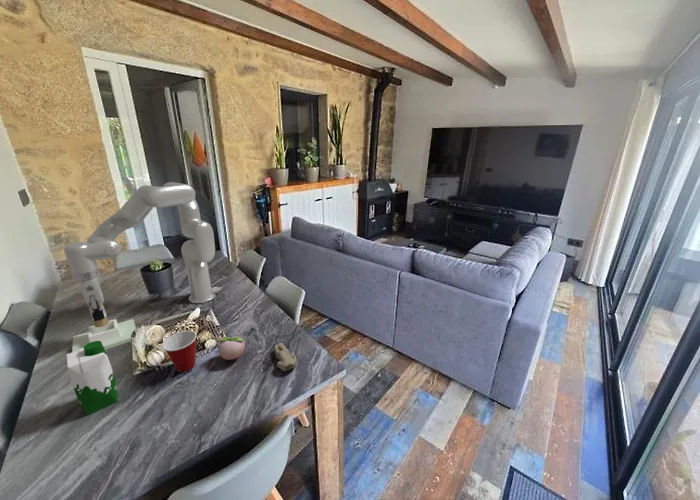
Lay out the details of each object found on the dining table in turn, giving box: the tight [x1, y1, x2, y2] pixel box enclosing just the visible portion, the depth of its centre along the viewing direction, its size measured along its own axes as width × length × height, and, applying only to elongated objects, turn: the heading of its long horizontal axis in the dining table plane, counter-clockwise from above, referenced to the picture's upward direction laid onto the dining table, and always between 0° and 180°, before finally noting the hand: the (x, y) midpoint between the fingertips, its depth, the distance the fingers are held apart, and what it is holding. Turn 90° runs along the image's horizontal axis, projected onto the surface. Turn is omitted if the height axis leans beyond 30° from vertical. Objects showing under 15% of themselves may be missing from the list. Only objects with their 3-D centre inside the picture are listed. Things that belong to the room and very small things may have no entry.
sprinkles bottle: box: [87, 296, 110, 327], centre depth 113 cm, size 5×5×13 cm
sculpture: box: [273, 342, 298, 372], centre depth 107 cm, size 7×5×15 cm
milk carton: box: [66, 341, 119, 416], centre depth 86 cm, size 9×9×20 cm
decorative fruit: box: [217, 335, 246, 361], centre depth 106 cm, size 9×8×10 cm
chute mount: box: [71, 318, 137, 353], centre depth 117 cm, size 20×16×6 cm
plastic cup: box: [161, 329, 197, 373], centre depth 102 cm, size 11×11×12 cm
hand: (99, 316), depth 114 cm, fingers closed on sprinkles bottle, 4 cm apart
